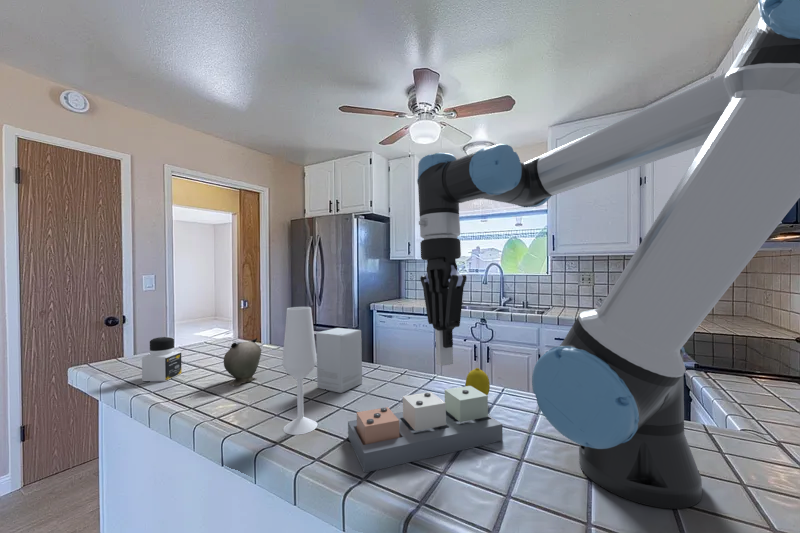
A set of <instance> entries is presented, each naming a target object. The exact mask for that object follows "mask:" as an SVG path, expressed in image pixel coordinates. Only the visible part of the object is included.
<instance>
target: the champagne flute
mask: <svg viewBox="0 0 800 533" xmlns="http://www.w3.org/2000/svg"><path fill="white" fill-rule="evenodd" d="M312 313H313V312H312V307H311V306H292V307H287V308H286V315H285V316H286V318H285V327H284V328H285V329H284V339H283V350H282V351H283V352H282V363H281V364H282V367H283V369H284V370H285V371H286V373H287V374H288V375H289V376H291V377H292V378H294V379H296V396H297V399H296V400H297V404H296V405H297V408H296V409H297V417H296V418H295V419H292V421H290V422H288V423H287V424H286V425H284V427H283V429H282V430H283V432H284V433H285V434H287V435H293V436H294V435H295V436H296V435H304V434H308V433H310V432H313V431H314V430H315V429H317V427H318V422H317V421H315V420H314V419H311V418H309V417H305V416H304V378H306V377H308V375H310V373H311V372H312V371H313V370H314V368H315V367H316V366H317V347H316V338H315V331H314V330H315V329H314V323H313V322H314V320H313V315H312Z"/></svg>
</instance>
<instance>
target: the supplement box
mask: <svg viewBox="0 0 800 533" xmlns="http://www.w3.org/2000/svg"><path fill="white" fill-rule="evenodd" d="M315 335H316V336H315V345H316V357H317V363H316V377H317V378H316V381H317V382H316V384H317V386H316V387H318V389H321V390H325V389H326V390H327V391H331V392H334V393H339V394H343V393H344V392H347V391H349V390H351V389H353V388H355V387H357V386H360V385H362V384H363V361H362V360H363V358H362V357H363V356H362V354H363V353H362V350H363V349H362V347H363V346H362V330H361V329H354V328H353V329H352V328H343V327H334V328H331V329H326V330H322V331H317V332H316V333H315ZM326 390H325V391H326Z"/></svg>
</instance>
